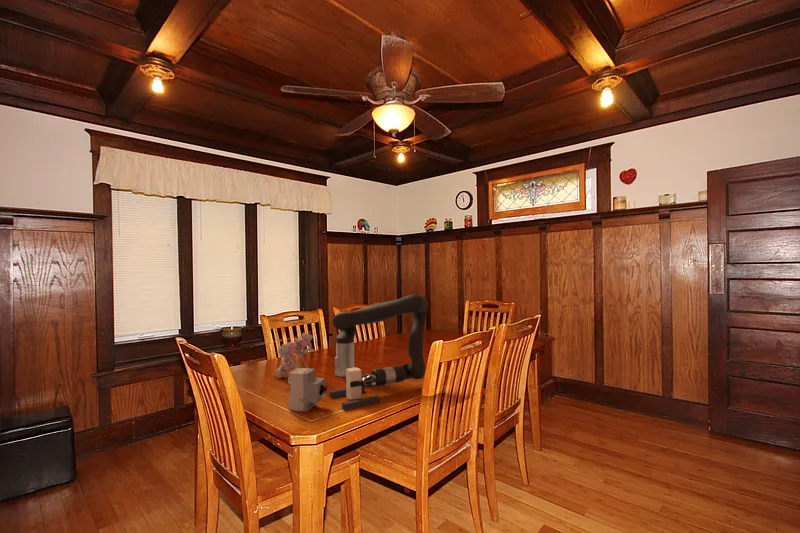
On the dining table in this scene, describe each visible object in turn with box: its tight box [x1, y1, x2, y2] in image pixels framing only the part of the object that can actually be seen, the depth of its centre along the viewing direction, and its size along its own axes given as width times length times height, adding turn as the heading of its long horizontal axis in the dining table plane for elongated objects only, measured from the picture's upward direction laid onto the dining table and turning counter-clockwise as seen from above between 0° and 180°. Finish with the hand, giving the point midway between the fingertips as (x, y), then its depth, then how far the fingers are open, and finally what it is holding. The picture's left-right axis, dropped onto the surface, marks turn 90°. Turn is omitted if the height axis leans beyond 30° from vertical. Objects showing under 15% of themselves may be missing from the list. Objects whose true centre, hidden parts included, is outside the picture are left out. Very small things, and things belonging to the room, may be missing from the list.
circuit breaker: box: [287, 367, 328, 412], centre depth 158 cm, size 8×14×15 cm, turn 78°
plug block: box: [345, 366, 363, 401], centre depth 166 cm, size 5×5×12 cm
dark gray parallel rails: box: [328, 386, 381, 411], centre depth 166 cm, size 16×19×2 cm
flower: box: [274, 330, 316, 378], centre depth 201 cm, size 20×22×25 cm
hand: (348, 383), depth 165 cm, fingers closed on plug block, 5 cm apart
